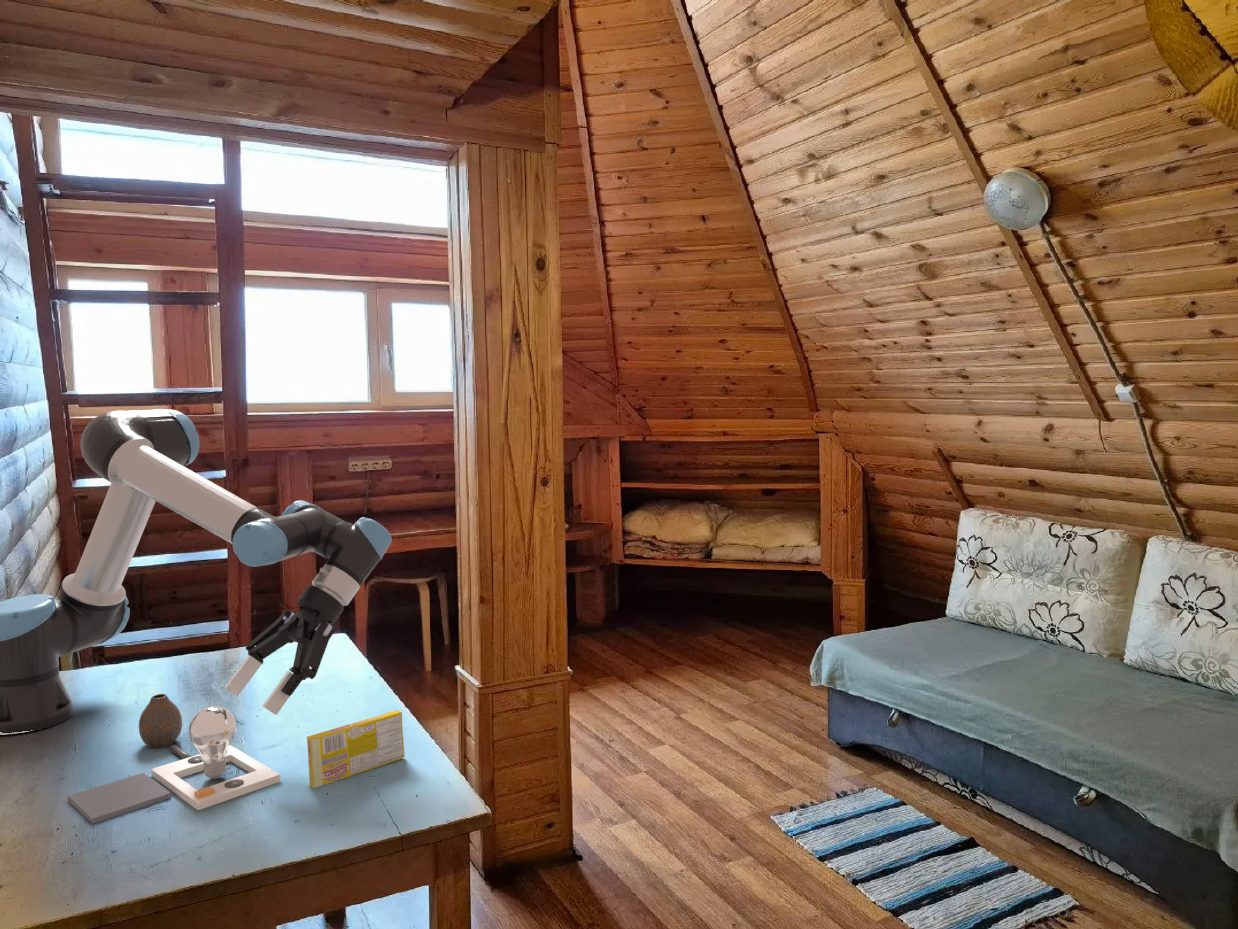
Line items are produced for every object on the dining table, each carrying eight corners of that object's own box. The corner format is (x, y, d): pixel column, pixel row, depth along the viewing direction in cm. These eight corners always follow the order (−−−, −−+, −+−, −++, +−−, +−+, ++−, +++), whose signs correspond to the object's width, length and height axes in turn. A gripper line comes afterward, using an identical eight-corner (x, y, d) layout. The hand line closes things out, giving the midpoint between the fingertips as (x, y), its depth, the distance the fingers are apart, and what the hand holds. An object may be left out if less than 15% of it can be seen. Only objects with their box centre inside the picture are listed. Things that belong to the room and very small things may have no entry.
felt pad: (68, 801, 137) (67, 796, 137) (143, 777, 145) (143, 772, 145) (92, 824, 130) (92, 818, 130) (171, 797, 138) (170, 792, 138)
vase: (165, 752, 155) (162, 704, 154) (130, 750, 157) (127, 701, 156) (191, 737, 162) (189, 690, 161) (158, 734, 163) (155, 688, 162)
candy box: (399, 755, 153) (397, 709, 153) (405, 759, 152) (403, 712, 151) (308, 785, 142) (306, 735, 142) (313, 789, 141) (311, 738, 140)
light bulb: (192, 792, 140) (188, 718, 139) (190, 775, 146) (187, 704, 145) (240, 782, 143) (236, 710, 142) (236, 766, 149) (233, 697, 148)
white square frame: (133, 762, 151) (132, 752, 151) (210, 739, 161) (210, 729, 161) (198, 810, 134) (197, 798, 134) (280, 781, 143) (279, 770, 143)
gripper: (278, 574, 164) (200, 674, 154) (352, 594, 147) (269, 707, 137) (306, 597, 168) (231, 695, 158) (381, 619, 152) (303, 730, 142)
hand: (249, 701), depth 148 cm, fingers open, 13 cm apart
